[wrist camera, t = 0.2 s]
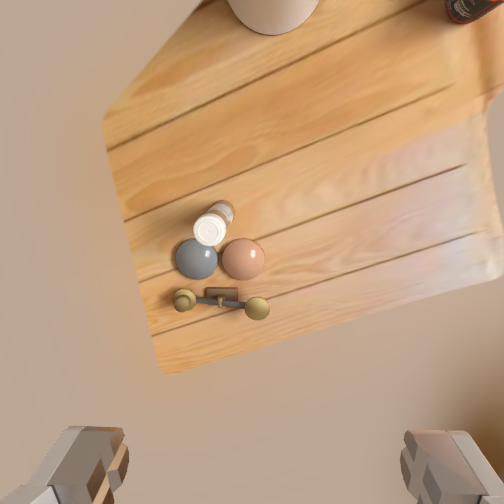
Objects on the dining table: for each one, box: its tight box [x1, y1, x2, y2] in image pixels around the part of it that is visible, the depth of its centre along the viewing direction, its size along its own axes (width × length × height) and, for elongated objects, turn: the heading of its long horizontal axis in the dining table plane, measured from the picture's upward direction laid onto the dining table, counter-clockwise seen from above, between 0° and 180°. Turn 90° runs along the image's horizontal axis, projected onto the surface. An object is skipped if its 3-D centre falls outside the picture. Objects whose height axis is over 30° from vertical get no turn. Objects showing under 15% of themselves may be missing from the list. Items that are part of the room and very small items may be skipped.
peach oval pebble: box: [222, 238, 265, 280], centre depth 57 cm, size 8×8×1 cm
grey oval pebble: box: [175, 238, 218, 280], centre depth 58 cm, size 8×8×1 cm
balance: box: [173, 287, 270, 320], centre depth 58 cm, size 5×19×5 cm, turn 91°
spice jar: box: [193, 200, 235, 246], centre depth 49 cm, size 5×5×14 cm
